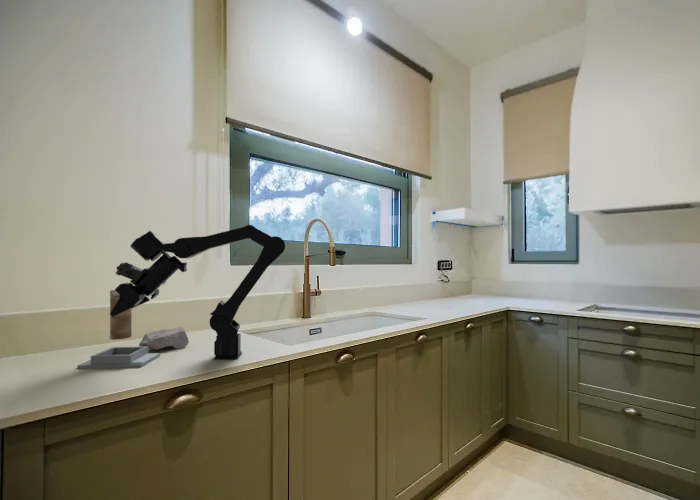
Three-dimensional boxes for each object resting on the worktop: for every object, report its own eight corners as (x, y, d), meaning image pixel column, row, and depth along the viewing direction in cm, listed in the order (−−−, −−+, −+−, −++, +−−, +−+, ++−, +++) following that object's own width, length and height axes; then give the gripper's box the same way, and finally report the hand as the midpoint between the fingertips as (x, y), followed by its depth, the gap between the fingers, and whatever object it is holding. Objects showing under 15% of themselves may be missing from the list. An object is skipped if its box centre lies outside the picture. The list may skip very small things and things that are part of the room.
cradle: (160, 356, 108) (160, 345, 108) (141, 367, 97) (141, 355, 97) (102, 357, 107) (103, 346, 107) (77, 368, 96) (77, 356, 96)
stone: (144, 355, 110) (145, 334, 110) (138, 349, 117) (138, 330, 117) (191, 348, 118) (191, 330, 118) (182, 343, 126) (183, 325, 126)
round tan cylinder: (136, 336, 104) (136, 289, 104) (120, 340, 99) (120, 291, 99) (121, 335, 105) (121, 289, 105) (105, 339, 100) (105, 290, 100)
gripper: (147, 253, 112) (106, 290, 110) (124, 252, 94) (74, 297, 91) (175, 278, 114) (136, 316, 111) (157, 282, 96) (109, 327, 93)
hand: (115, 313), depth 102 cm, fingers closed on round tan cylinder, 5 cm apart
